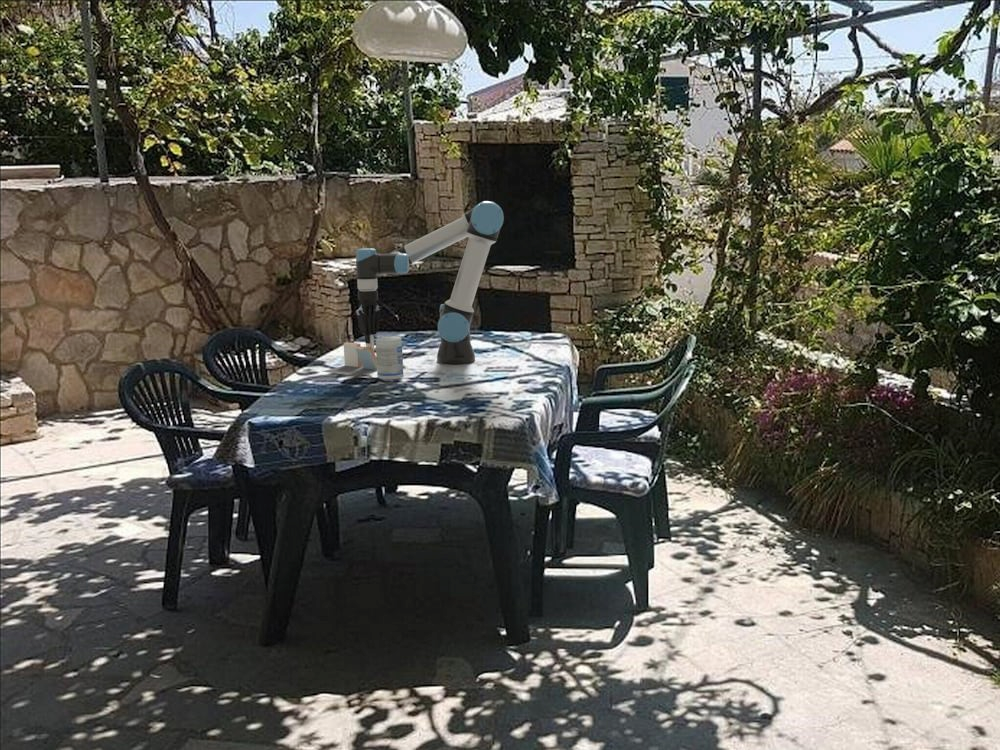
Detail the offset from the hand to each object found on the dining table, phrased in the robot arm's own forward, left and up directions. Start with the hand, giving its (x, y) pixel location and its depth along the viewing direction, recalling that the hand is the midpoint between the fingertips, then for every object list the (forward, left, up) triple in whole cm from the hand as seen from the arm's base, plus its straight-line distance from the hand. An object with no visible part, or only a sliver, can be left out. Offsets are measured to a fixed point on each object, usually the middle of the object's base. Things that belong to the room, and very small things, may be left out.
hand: (370, 351), depth 336 cm
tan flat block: (+9, 0, -7) cm, 11 cm away
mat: (+5, +2, -7) cm, 9 cm away
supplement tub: (-16, +8, -7) cm, 19 cm away
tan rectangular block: (0, 0, -6) cm, 6 cm away
